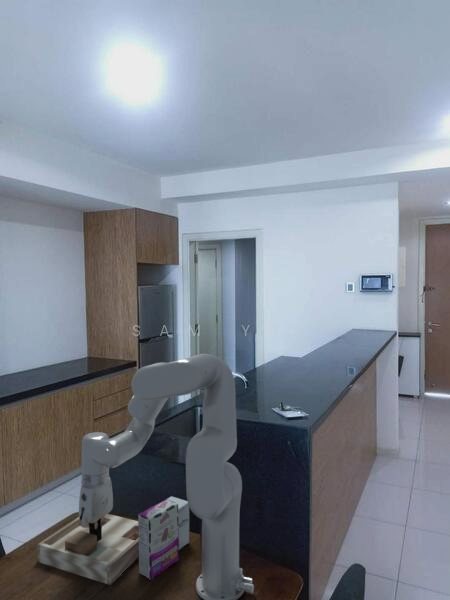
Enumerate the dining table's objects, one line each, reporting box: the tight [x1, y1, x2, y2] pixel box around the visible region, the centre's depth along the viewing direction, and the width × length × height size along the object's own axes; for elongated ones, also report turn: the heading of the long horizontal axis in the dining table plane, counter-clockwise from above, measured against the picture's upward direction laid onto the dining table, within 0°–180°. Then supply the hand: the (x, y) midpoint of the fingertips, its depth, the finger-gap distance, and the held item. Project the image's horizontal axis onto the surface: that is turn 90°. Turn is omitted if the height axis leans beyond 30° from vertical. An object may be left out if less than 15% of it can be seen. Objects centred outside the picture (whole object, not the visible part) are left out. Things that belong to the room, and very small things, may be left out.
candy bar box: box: [137, 498, 180, 581], centre depth 123 cm, size 11×5×16 cm, turn 143°
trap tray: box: [37, 513, 139, 586], centre depth 131 cm, size 25×25×5 cm
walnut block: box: [65, 531, 97, 556], centre depth 124 cm, size 6×6×4 cm
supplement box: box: [167, 496, 190, 550], centre depth 133 cm, size 7×7×13 cm
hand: (95, 539), depth 129 cm, fingers closed
